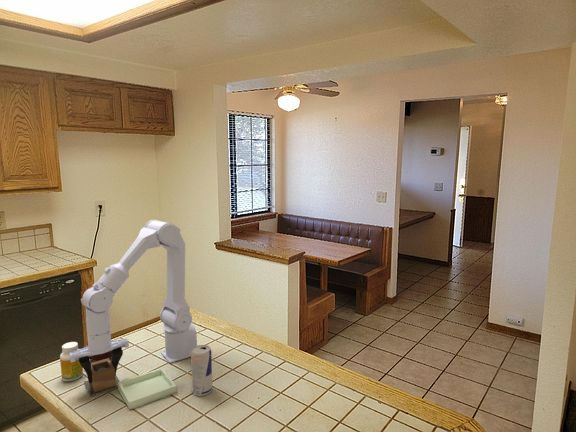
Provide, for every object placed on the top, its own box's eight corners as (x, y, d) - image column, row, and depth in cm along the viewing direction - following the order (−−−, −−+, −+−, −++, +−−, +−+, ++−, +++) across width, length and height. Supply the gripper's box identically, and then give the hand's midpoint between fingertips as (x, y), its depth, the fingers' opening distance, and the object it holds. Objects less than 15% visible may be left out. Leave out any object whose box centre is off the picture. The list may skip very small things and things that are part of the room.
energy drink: (216, 387, 107) (215, 346, 106) (205, 398, 102) (204, 355, 101) (199, 383, 109) (197, 343, 107) (188, 394, 104) (186, 352, 102)
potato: (94, 352, 126) (93, 335, 126) (120, 353, 126) (118, 335, 125) (82, 364, 119) (80, 346, 118) (108, 365, 119) (107, 346, 118)
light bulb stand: (114, 374, 114) (113, 359, 113) (121, 386, 107) (120, 371, 107) (84, 383, 109) (82, 368, 108) (89, 397, 103) (88, 381, 102)
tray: (162, 374, 114) (161, 367, 113) (176, 392, 105) (176, 385, 105) (118, 388, 106) (117, 382, 106) (129, 409, 98) (129, 402, 97)
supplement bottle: (73, 382, 109) (71, 350, 108) (57, 380, 110) (54, 348, 109) (87, 372, 115) (84, 341, 113) (71, 370, 116) (68, 339, 114)
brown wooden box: (89, 380, 109) (87, 364, 109) (109, 374, 113) (108, 358, 112) (94, 392, 104) (93, 375, 103) (115, 385, 107) (114, 368, 106)
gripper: (123, 320, 113) (125, 363, 115) (66, 333, 105) (70, 380, 107) (129, 328, 108) (132, 374, 110) (70, 343, 99) (74, 392, 101)
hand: (102, 377), depth 108 cm, fingers closed on brown wooden box, 5 cm apart
